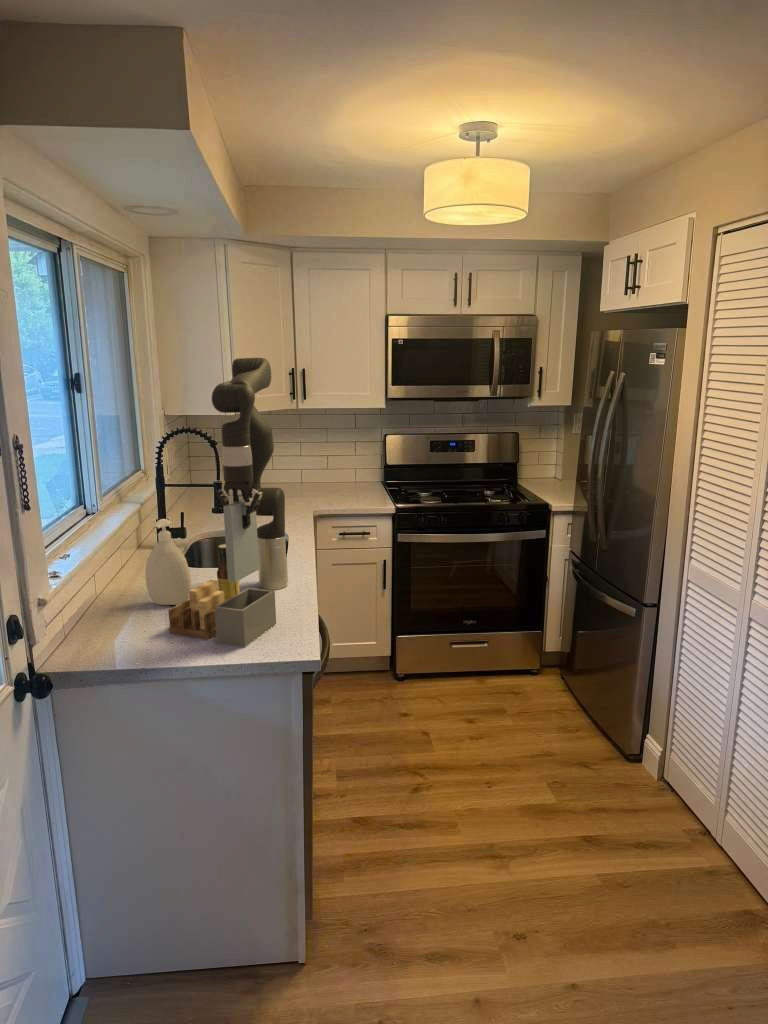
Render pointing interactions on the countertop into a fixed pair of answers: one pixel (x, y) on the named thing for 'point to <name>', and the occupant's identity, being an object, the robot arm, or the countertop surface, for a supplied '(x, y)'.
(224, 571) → the sauce bottle
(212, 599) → the beech offcut
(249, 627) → the bin
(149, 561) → the soap bottle
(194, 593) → the oak offcut
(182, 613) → the rack
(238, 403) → the robot arm
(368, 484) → the countertop surface
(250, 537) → the tall sheet
